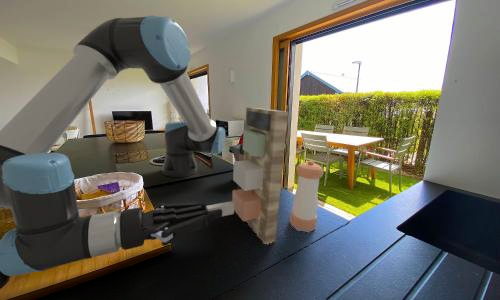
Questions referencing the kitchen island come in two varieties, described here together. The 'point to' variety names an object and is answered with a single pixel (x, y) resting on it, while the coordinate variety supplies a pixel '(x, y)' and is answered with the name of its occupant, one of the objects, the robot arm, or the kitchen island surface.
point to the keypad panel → (268, 167)
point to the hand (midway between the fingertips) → (232, 207)
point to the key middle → (248, 174)
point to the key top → (254, 142)
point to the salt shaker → (306, 196)
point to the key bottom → (246, 204)
